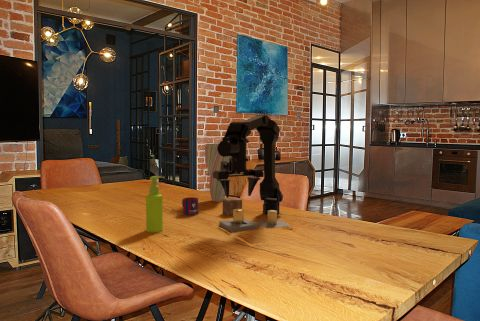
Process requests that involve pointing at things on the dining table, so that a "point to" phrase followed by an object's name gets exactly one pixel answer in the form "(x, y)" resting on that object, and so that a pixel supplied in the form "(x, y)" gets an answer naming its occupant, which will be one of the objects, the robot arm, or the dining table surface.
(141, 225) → the dining table surface
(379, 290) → the dining table surface
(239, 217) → the pin
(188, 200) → the mug
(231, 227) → the socket board
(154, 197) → the soap dispenser
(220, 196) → the vase
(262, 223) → the board
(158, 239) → the dining table surface
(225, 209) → the box
